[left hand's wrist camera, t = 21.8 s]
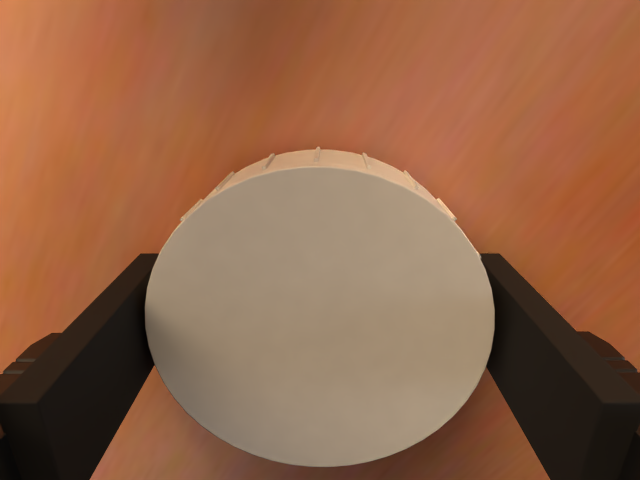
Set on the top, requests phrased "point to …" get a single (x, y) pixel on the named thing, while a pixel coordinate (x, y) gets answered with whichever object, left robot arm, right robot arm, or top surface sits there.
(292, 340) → the lid
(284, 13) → the top surface
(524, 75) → the top surface
